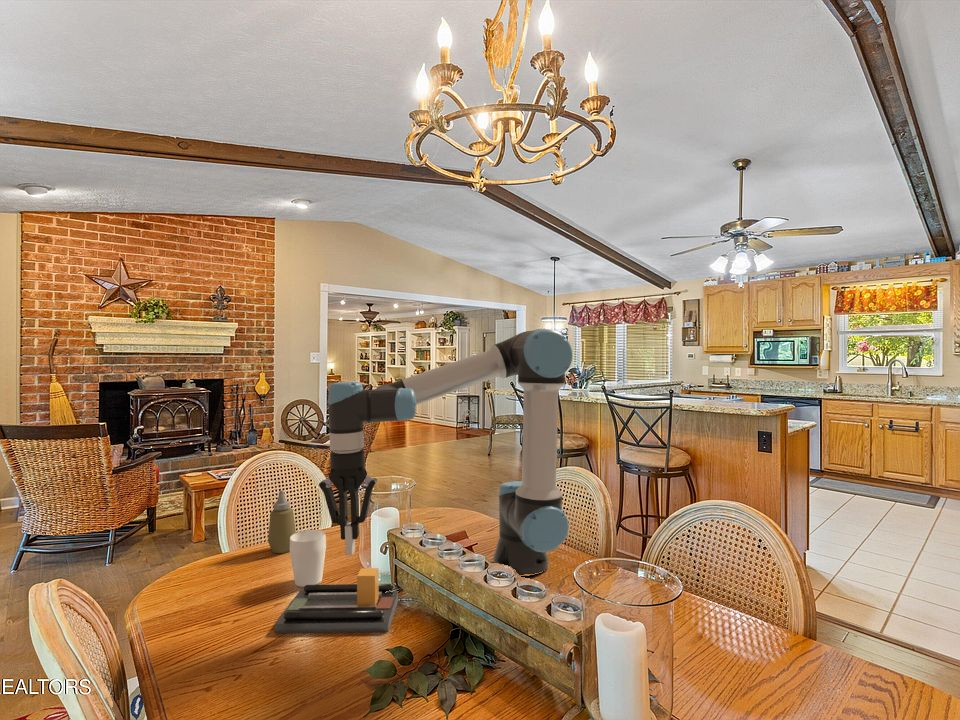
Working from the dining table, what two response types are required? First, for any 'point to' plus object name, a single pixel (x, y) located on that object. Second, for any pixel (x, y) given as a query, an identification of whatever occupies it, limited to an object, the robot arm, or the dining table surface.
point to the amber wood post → (367, 586)
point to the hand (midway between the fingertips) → (350, 552)
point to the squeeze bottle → (281, 525)
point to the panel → (337, 610)
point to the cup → (308, 556)
